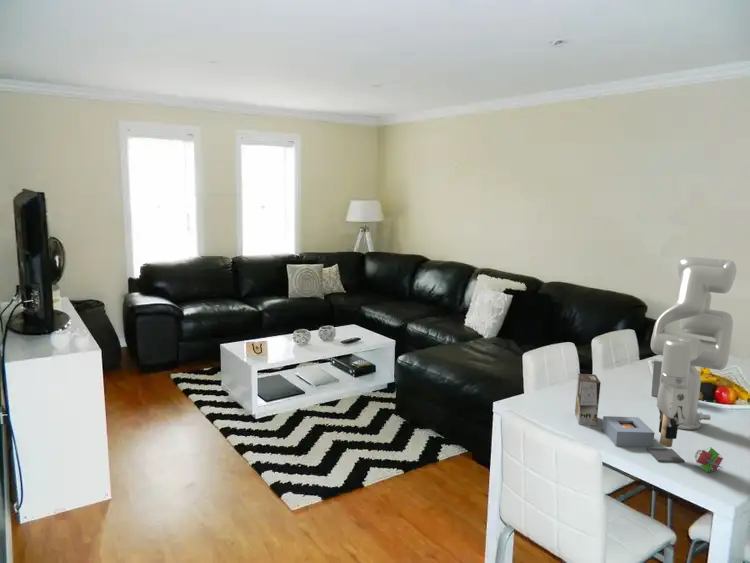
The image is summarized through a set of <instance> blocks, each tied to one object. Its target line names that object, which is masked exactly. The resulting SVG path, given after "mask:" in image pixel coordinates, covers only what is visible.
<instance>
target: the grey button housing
mask: <svg viewBox="0 0 750 563" xmlns="http://www.w3.org/2000/svg"><path fill="white" fill-rule="evenodd" d="M622 424H630V425H633V426H634V428H626V427H622ZM601 427H602V429H601V431H602V432H604V434H605V435H606V436H607V437H608V438H609V440H610V441H611V442H612V443H613V444H614V446H616V447H641V448H643V447H645V448H654V442H655V431H654V430H653V429H652V428H650V427H649V426H648V425H647V424H646V423H645V422H644V421H643V420H642V419H641V418H640V417H638V416H609V415H608V416H606V415H603V417H602V426H601Z"/></svg>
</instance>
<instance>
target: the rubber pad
mask: <svg viewBox="0 0 750 563" xmlns="http://www.w3.org/2000/svg"><path fill="white" fill-rule="evenodd" d="M645 450H647V452H648V453H649V454H650V455H651V456H652V457H653V458H654V460H656V461H657V462H658V463H684V464H685V461H686V460H684V458H682V457H681V456H680V455H679V453H677V452H676V451H675V450H674V449H672V448H669V447H665V448H664V447H662V448H661V447H646V449H645Z"/></svg>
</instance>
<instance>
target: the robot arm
mask: <svg viewBox="0 0 750 563" xmlns="http://www.w3.org/2000/svg"><path fill="white" fill-rule="evenodd" d="M677 269H678V270H677V271H678V277H679V283H678V284H679V285H678V288H677V292H676V297H675V301H674V304H673V305H672V306H671V307H669V308H667V309H665V310H664V311H663V312H662V313H661V314H660V315H659V316H658V317H657V319H656V320H655V323H654V326H653V330H652V331H653V332H652V335H651V338H650V349H651V351H652V352H653V353H654V354H656V355H657V356H662V357H663V358H662V367H661V376H660V386H659V391H658V397H657V398H656V407H657V408H658V411H659V412H658V413H659V416H658V417H659V424H658V433H660V434H661V429H662V420H663V413H664V414H666V415H667V416H668V426H666V434H665V438H666V439H673V440H676V439H677V438H678V437H677V436H678V429H682V430H689V431H690V430H692V431H693V430H697V429H699V428H701V425H702V424H701V421H702V420H704V421H710V420H711V418H712V417H711V414H709V413H708V414H706V413H705V414H704V413H703V412H700V411H699V412H698V407H699V399H700V390H701V383H702V377H701V374H700V372H699V370H698V369H697V368H696V367H699V368H705V369H711V370H715V371H722V370H724V369H725V368H726V367H727V366H728V362H729V356H730V351H731V343H732V334H733V329H734V328H733V326H734V323H733V322H734V320H733V317H732V315H731V314H730V313H729V312H726V311H723V310H715V309H711V302H712V301H711V300H712V294H711V293H716V294H723V295H724V294H727V293H729V292H730V291H731V289H732V287H733V285H734V282H735V280H736V276H737V265H736V263H735V262H734V261H732V260H729V259H721V258H710V257H709V258H707V257H697V256H696V257H695V256H694V257H693V256H692V257H691V256H690V257H685V258H682V259H680V260H679V262H678V266H677ZM676 321H679V328H680V330H681V331H682V332H684V333H686V334H690V335H685V334H678V333H671V332H666V331H664V330H665V329H666V327H667V326H668V325H670V324H672V323H673V322H676ZM691 335H694V336H691ZM695 336H703V337H707V338H708V337H709V338H713V339H714V340H715V341H713V340H707V339H706V340H705V339H702V338H697V337H695ZM674 415H676V417H674ZM672 419H675V421H672Z"/></svg>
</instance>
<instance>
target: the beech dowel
mask: <svg viewBox="0 0 750 563" xmlns="http://www.w3.org/2000/svg"><path fill="white" fill-rule="evenodd" d="M674 417H676V415H674ZM672 421H675V419H672ZM666 426H668V416H667V415H666V414H664V413H663V420H662V429H661V433H660V438H659V445H660V446H662V447H663V448H664V447H665V448H673V440H674V439H666V438H665V434H666Z"/></svg>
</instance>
